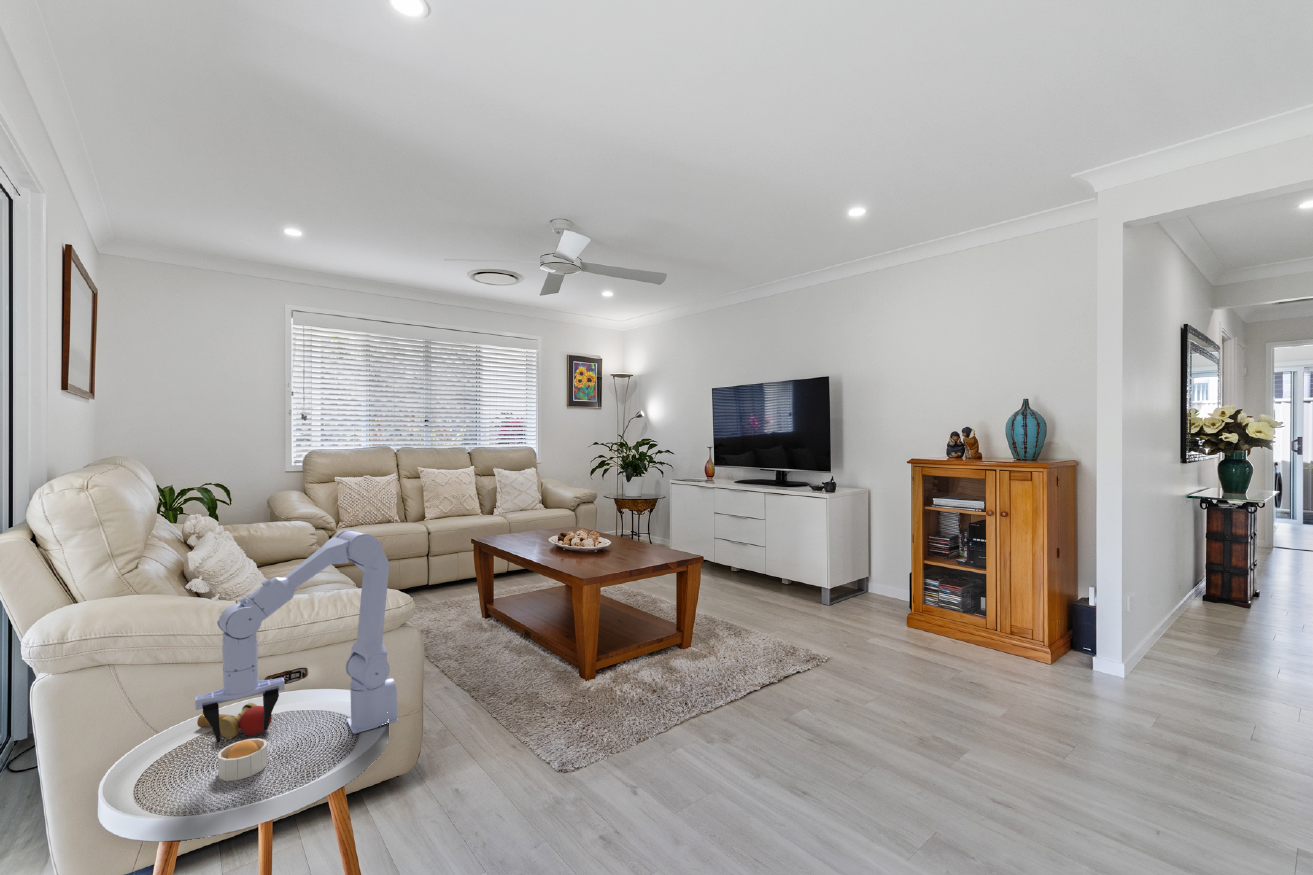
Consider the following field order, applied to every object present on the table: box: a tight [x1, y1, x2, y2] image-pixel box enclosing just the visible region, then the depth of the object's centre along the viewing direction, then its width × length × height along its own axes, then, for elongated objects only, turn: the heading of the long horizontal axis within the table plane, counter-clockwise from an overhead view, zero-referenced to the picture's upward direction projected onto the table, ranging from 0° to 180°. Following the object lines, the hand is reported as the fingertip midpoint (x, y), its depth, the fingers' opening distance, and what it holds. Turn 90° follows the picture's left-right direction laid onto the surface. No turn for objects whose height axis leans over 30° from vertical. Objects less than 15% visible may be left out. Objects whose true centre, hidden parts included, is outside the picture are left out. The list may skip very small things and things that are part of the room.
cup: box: [217, 738, 269, 782], centre depth 121 cm, size 8×8×4 cm
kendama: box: [196, 702, 273, 739], centre depth 137 cm, size 8×6×18 cm
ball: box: [228, 739, 258, 759], centre depth 121 cm, size 5×5×5 cm
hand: (242, 734), depth 121 cm, fingers open, 7 cm apart
